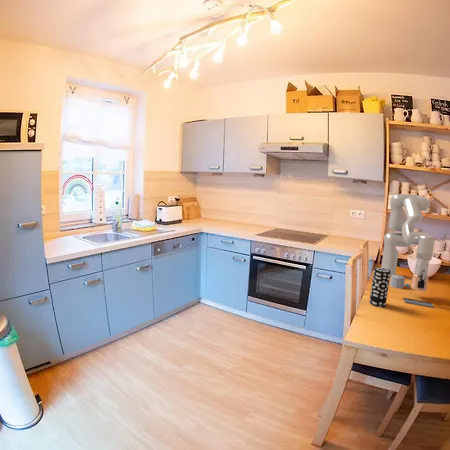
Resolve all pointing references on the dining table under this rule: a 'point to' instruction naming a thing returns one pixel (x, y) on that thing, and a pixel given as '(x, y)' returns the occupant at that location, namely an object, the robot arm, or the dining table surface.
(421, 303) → the mat
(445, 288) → the dining table surface
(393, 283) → the grey cup
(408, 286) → the marble
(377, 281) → the spotted tube
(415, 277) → the peach rounded capsule
